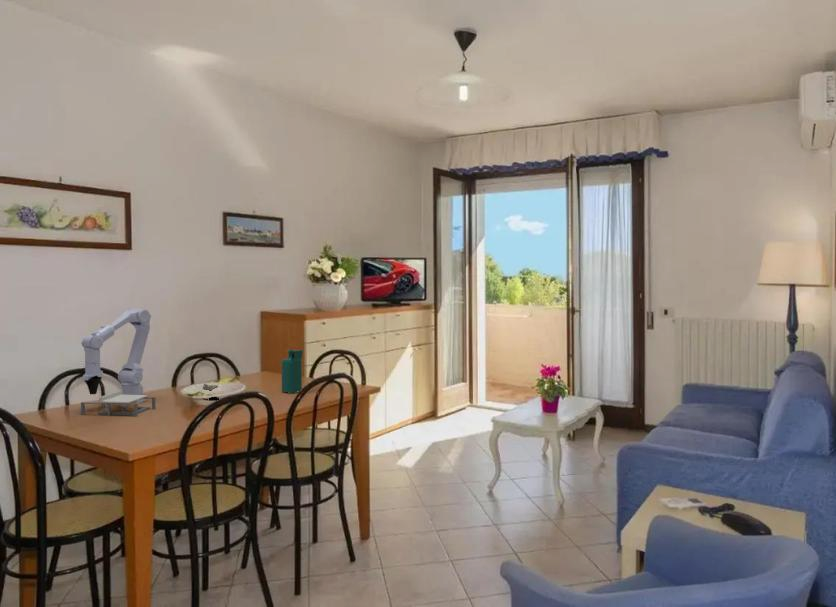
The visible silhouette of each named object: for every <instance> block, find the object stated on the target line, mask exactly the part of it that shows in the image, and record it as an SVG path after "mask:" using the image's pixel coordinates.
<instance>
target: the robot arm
mask: <svg viewBox="0 0 836 607" xmlns="http://www.w3.org/2000/svg"><path fill="white" fill-rule="evenodd" d="M151 317H152V315H151V313H150V312H149V310H147V309H146V308H132V307H131V308H128V309H127V310H125V311H123V313H122V314H121V315H120V316H119V317H118V318H116V319H115V320H114V321H112V322H111V323H110V324H102V325H100V328H99V329H97V330H95V331H92V333H91V334H88V335H85V336H84V337H83V339H82V341H81V343H80V344H81V346H82V347H83V350H84V364H85V365H84V371H85V373H84V374H83V375H82V381H84V382H85V384H86V386H87V389H88V392H89V395H96V394H97V392H98V389H99V385H100V384H101V383H100V382H101V381H102V376H103V375H104V372H103V371H104V370H101V348H102V347H103V345H104V343H105V342H106V341H107V340H109V339H110V338H112V337H113V336H114V335H115V331H117V330H118V329H120V328H122V327H123V326H126V325H127V324H128V323H129V324H131V326H133V327H134V329H135V334H134V337H133V340H132V344H131V348H130V351H129V355H128V358H127V361H126V363H124V365H122V367H121V370H120V371H119V372H118V374H117V380H118V381H119V382H120V385H121V391H122V395H144V387H143V385H142V384H141V382H142V381H143V378H144V377H143V372H144V369H143V367H142V366H141V362H142V359H143V354H144V351H145V347H146V344H147V340H148V337H149V333H150V328H151V326H150V325H151V323H150V321H151ZM145 401H146V399H144V398H142V399H139V400H137V404H141V403H143V402H145Z"/></svg>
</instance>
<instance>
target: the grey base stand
mask: <svg viewBox="0 0 836 607" xmlns="http://www.w3.org/2000/svg"><path fill="white" fill-rule="evenodd" d="M146 399H149V400H151V409H152V410H155V409H156V397H155V396H147V397H145V398H144V400H146ZM138 404H139V403H137V404H127V403H104V402H95V401H94V402H93V401H92V402H91V401H90V402H89V401H87V402H86V401H82V402H80V415H81V416H82V415H85V413H86V410H85V408H86V406H85V405H101V408H105V409H102V410H99V411H98V412H97V415H104V416H105V415H107V416H133V417H138V415H139V414H141V413H144V412H146V411H149V410H150V406H139V405H138ZM111 405H122V410H119V411H112V410H111ZM127 405H134V411H126V409H127Z"/></svg>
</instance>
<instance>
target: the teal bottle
mask: <svg viewBox="0 0 836 607" xmlns="http://www.w3.org/2000/svg"><path fill="white" fill-rule="evenodd" d="M286 352H288V353H287V356H288V357H287V358H284V359H282V360H281V392H282V391H283V392H282V393H284V392H289V393H293V392H297V391H300V390H301V389H302V388H303V386H302V385H303V373H302V372H303V366H302V365H303V363H302V362H303V361H302V359H303V353H304V352H303V349H298V350H297V349H287V350H286ZM302 390H303V389H302ZM289 393H288V394H289ZM293 394H294V393H293Z"/></svg>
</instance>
